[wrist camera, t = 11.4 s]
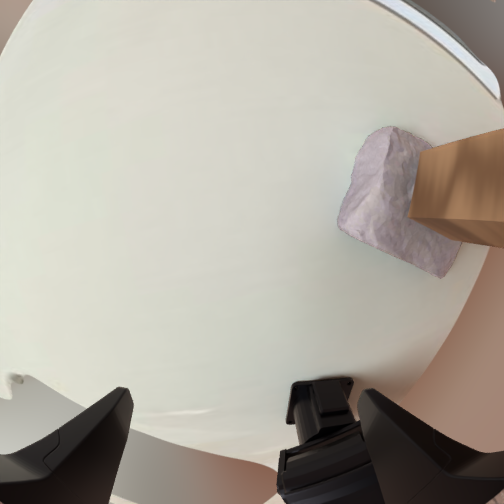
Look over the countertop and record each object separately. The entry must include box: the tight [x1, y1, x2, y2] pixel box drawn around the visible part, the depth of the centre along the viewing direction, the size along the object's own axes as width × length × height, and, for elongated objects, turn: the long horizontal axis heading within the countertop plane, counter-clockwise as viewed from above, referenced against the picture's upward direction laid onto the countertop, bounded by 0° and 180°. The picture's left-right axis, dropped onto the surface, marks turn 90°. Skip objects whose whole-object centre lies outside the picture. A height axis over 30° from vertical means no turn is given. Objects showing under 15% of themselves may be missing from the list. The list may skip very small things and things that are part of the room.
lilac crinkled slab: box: [337, 126, 462, 279], centre depth 19 cm, size 12×5×10 cm
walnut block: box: [408, 128, 504, 248], centre depth 12 cm, size 5×5×9 cm
